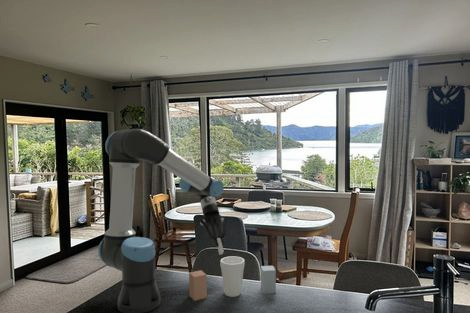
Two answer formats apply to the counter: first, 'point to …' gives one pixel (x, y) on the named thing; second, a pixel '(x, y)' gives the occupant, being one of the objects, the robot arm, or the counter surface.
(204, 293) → the terracotta block
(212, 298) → the counter surface
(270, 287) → the slate block
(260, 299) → the counter surface
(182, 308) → the counter surface
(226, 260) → the foam cup
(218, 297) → the counter surface
